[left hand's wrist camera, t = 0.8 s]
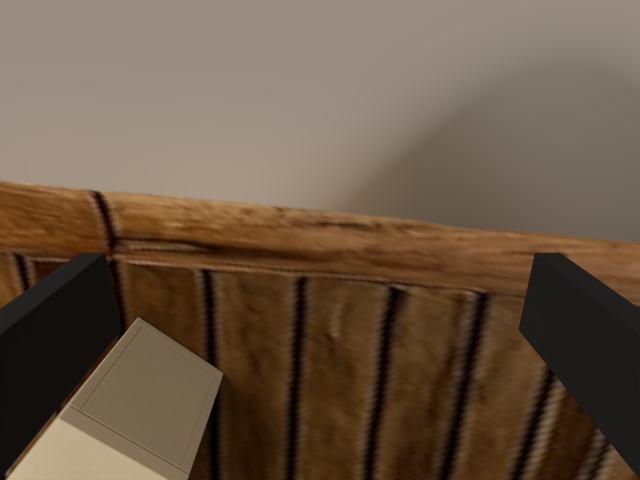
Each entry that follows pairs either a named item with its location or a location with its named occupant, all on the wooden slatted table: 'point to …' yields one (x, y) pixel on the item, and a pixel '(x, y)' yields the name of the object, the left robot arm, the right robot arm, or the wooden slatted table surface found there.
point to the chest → (151, 394)
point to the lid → (90, 454)
